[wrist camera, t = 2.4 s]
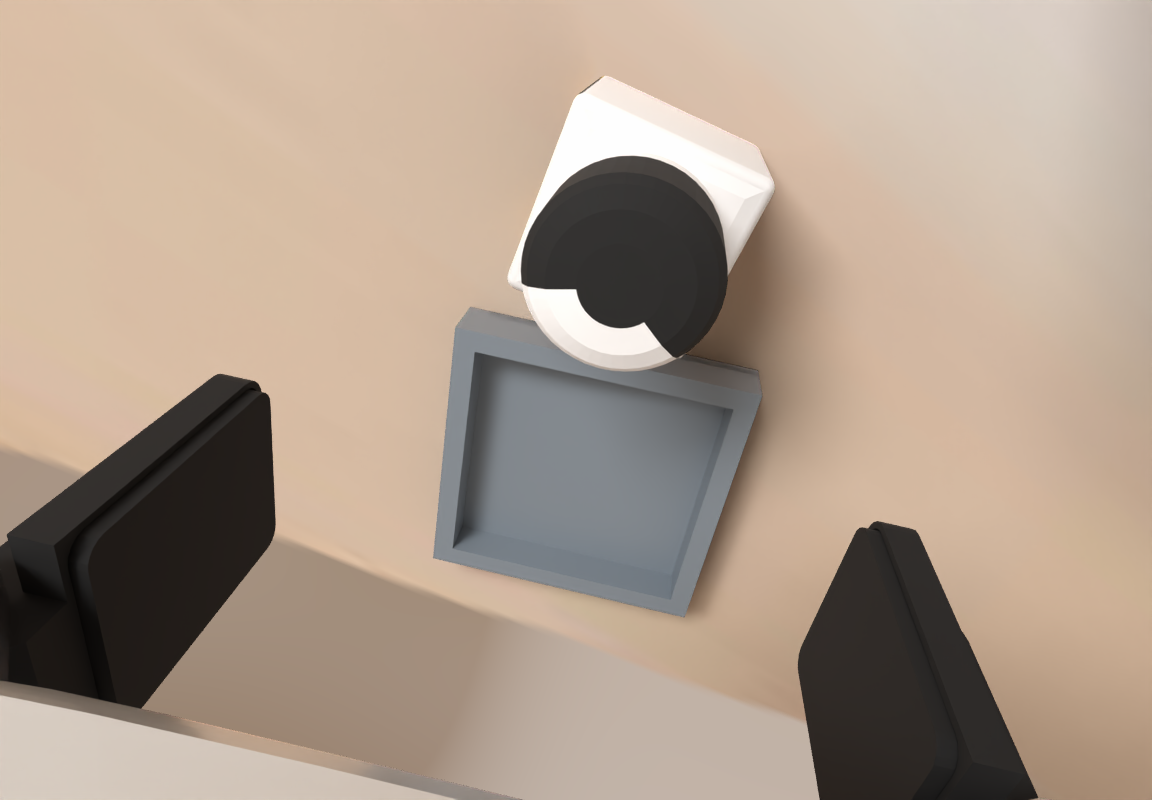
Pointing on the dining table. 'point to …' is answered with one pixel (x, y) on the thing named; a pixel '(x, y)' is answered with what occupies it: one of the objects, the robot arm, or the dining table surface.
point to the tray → (586, 464)
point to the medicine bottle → (637, 229)
